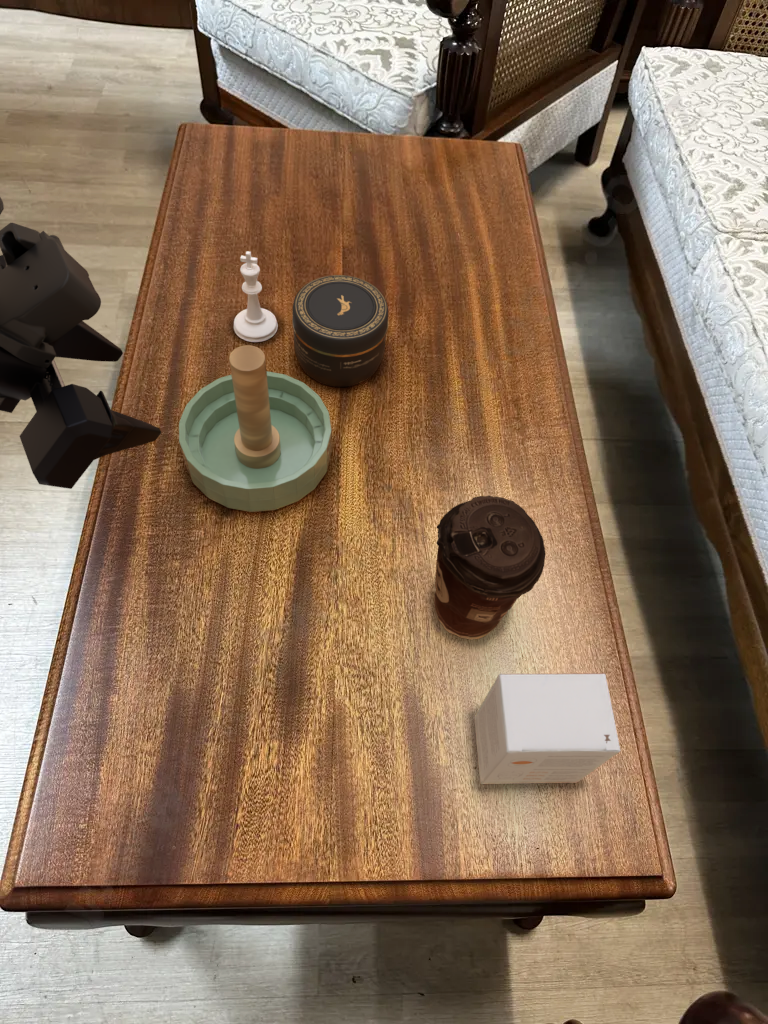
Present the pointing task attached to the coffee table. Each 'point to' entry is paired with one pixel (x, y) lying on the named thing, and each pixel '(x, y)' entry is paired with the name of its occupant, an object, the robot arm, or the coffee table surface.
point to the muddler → (253, 409)
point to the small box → (545, 728)
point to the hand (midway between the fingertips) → (138, 394)
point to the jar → (339, 329)
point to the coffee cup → (484, 564)
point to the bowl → (214, 452)
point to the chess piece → (253, 306)
